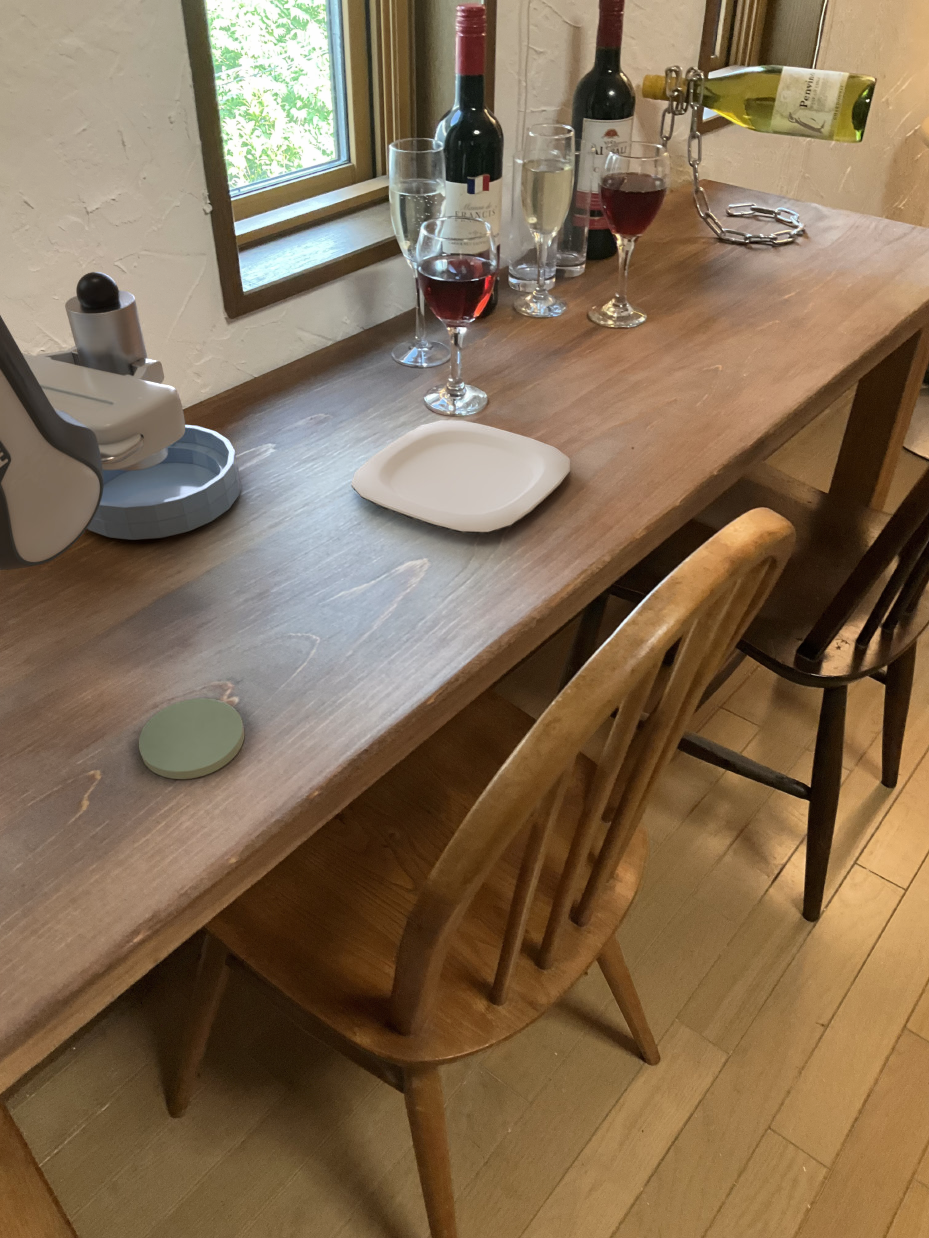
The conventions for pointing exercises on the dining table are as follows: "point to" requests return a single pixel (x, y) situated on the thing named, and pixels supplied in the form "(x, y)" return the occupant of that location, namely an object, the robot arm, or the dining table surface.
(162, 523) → the bowl
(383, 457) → the plate
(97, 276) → the pepper mill
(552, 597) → the dining table surface
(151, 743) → the coaster
